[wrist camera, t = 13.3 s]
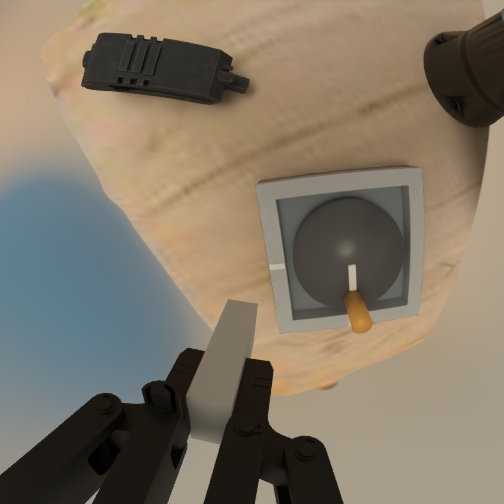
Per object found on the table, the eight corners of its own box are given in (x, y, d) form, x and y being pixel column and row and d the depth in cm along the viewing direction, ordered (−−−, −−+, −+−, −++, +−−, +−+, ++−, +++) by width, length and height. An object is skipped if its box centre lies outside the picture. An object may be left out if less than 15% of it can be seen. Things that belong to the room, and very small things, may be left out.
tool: (106, 58, 29) (83, 27, 16) (230, 77, 37) (266, 57, 24) (96, 96, 31) (66, 82, 19) (220, 113, 39) (252, 109, 26)
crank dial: (285, 204, 34) (283, 220, 26) (395, 191, 31) (423, 203, 23) (299, 305, 38) (300, 343, 30) (397, 292, 36) (417, 325, 28)
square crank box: (407, 165, 32) (422, 167, 28) (408, 299, 38) (419, 315, 34) (259, 181, 36) (254, 185, 31) (281, 316, 42) (279, 334, 38)
